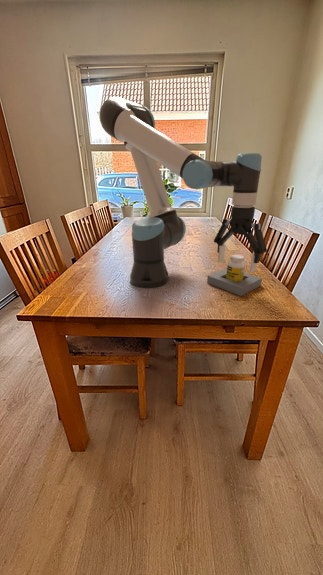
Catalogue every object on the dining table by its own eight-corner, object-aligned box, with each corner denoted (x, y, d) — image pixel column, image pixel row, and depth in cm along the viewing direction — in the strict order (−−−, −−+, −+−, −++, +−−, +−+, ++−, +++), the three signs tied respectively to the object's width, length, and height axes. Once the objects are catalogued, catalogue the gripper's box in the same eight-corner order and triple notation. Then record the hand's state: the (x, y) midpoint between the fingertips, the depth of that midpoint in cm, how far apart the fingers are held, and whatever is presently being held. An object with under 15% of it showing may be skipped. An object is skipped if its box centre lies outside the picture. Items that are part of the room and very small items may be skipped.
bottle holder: (240, 296, 85) (242, 288, 84) (207, 282, 96) (207, 275, 95) (260, 285, 93) (262, 278, 92) (227, 274, 103) (228, 267, 102)
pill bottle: (222, 284, 94) (225, 256, 90) (230, 279, 98) (233, 252, 94) (237, 289, 90) (241, 260, 86) (245, 283, 95) (249, 256, 90)
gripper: (285, 208, 76) (273, 273, 85) (219, 202, 93) (215, 256, 102) (273, 211, 72) (261, 278, 81) (206, 203, 89) (203, 260, 98)
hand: (235, 266), depth 91 cm, fingers open, 13 cm apart
